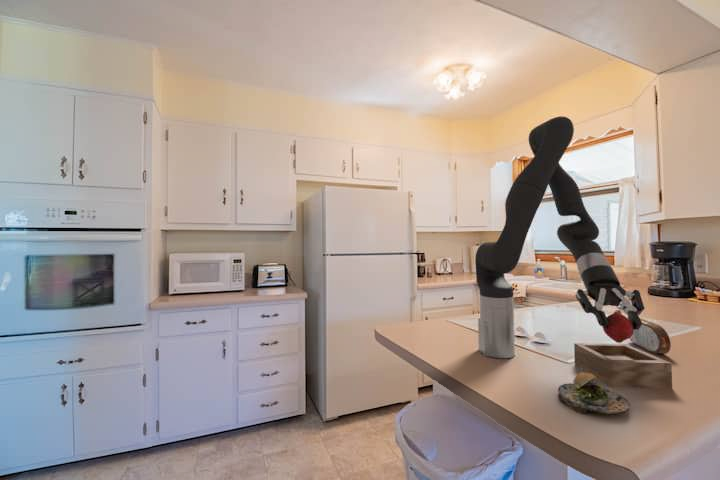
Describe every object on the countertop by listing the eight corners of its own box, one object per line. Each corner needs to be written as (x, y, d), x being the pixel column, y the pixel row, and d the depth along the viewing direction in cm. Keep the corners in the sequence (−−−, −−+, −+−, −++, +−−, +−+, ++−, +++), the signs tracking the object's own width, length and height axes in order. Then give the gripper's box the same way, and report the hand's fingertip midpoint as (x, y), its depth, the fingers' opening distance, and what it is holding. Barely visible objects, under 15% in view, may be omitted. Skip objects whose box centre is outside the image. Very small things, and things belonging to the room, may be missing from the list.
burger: (584, 422, 56) (583, 381, 57) (545, 391, 68) (544, 357, 68) (648, 420, 56) (647, 380, 57) (599, 390, 68) (598, 356, 68)
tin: (672, 358, 85) (671, 328, 85) (659, 357, 86) (658, 327, 86) (635, 341, 100) (634, 315, 100) (624, 340, 101) (623, 315, 101)
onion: (626, 348, 71) (626, 314, 71) (598, 341, 76) (597, 309, 76) (638, 343, 74) (637, 311, 74) (610, 337, 79) (609, 306, 79)
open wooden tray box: (610, 388, 69) (609, 362, 69) (574, 365, 82) (574, 343, 82) (672, 390, 68) (671, 363, 68) (626, 366, 81) (625, 343, 81)
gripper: (570, 264, 84) (592, 318, 73) (632, 263, 81) (666, 320, 69) (563, 280, 89) (583, 333, 78) (621, 281, 86) (651, 336, 74)
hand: (621, 327), depth 74 cm, fingers closed on onion, 5 cm apart
